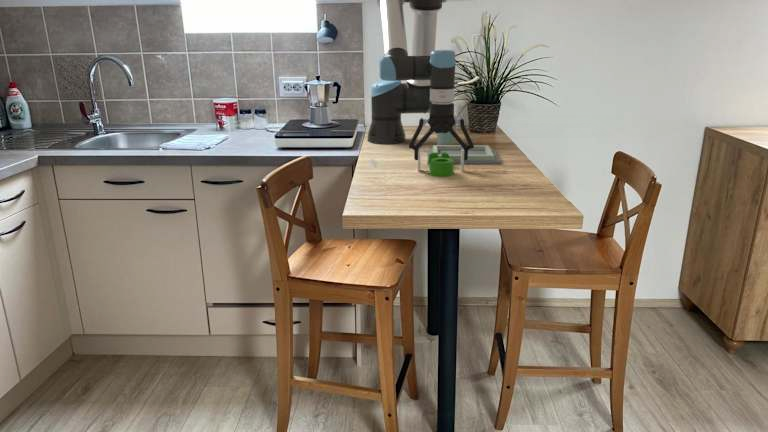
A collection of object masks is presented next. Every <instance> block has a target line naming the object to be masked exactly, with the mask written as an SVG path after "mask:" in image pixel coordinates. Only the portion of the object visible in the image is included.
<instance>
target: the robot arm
mask: <svg viewBox="0 0 768 432" xmlns="http://www.w3.org/2000/svg"><path fill="white" fill-rule="evenodd" d="M447 1H448V0H376V4H377V6H378V7H379V9H380V19H381V30H382V41H383V42H382V43H383V53H384V56H380V57H379V61H378V63H379V64H378V65H379V66H378V70H379V77H380V79H381V80H382V81H377V82H375V83H373V84H372V85H371V87H370V88H371V89H370V91H371V92H370V97H371V98H370V99H371V100H370V101H371V122H370V125H369V129H368V132H367V142H369V143H372V144H381V145H382V144H383V145H387V144H388V145H389V144H399V143H403V142H405V141H406V133H405V129H404V127H403V126H404V125H403V123H402V114H429V118H427V119H426V118H423V117H420V118H419V122H418V125H417V128H416V130H415V132H414V133H413V136H412V138H411V139H410V142H409V144H408V148H409V149H412V150H413V152H414V161H417V172H421V153H422V152H421V147H422V146H423V144H424V143H426V141H427V140H428V138H430V136H431V135H433V134H434V133H436V134H437V133H448V132H450V133H451V134H452V135H453V137H454V138H455V139H454V140H456V141H457V142H458V144H459V145H461V146H462V147H463V149H461V164H460V172H464V171H465V170H464V169H465V164H464V160H467V159H468V150H469V149H471V148H474V142H473V141H472V139H471V136H470V135H469V134H470V133H468V131H467V128H466V125H465V119H464V118H463V117H460V118H457V119H454V114H455V104H454V102H455V92H456V90H455V87H456V86H455V83H456V82H455V81H456V64H457V60H456V53H455V51H454V50H452V49H451V50H450V49H449V50H448V49H436V41H437V39H436V37H437V23H438V22H437V21H438V12H439V11H441V10H442V8H443V6H442V5H443V3H446V2H447ZM405 3H409V8H410V9H411V11H412V12H413V17H412V39H411V40H412V46H411V47H412V48H411V55H409V53H408V52H409V50H408V43H407V41H408V40H407V35H406V24H405V17H404V16H405V15H404V14H405V13H404V5H405ZM402 81H406V83H405V82H404V83H403V82H402ZM455 123H457V125H458V127H460V129H461V131H462V133H463V135H464V138H465V139H466V141H467V143H468V144H466V142H464V140H463V139H462V137H460V136H459V134H458V133H457V132H455V131H454V129H453V128H452V127H453V126H454V124H455ZM426 124H428V125H429V127H430V128H428V130H427V131H426V132H425V134H424V135H423V136H422V137H420V139H419V140H418V142H417V143H416V141H417V139H418V138H419V135H420V134H421V131H422V130H423V127H424V126H426Z"/></svg>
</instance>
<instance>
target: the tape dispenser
mask: <svg viewBox="0 0 768 432" xmlns="http://www.w3.org/2000/svg"><path fill="white" fill-rule="evenodd" d="M453 162H454V160H453V159H450V158H449V155H448V153H447V152H442V157H441V158H438V152H431V153H430V154H429V164H428V169H429V174H430V176H433V177H435V178H436V177H437V178H439V177H440V178H446V177H452V176H453V175H454V164H453Z"/></svg>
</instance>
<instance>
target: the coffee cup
mask: <svg viewBox="0 0 768 432" xmlns="http://www.w3.org/2000/svg"><path fill="white" fill-rule="evenodd" d="M454 119H458V117H457V114H455V113H454ZM457 125H458V124H457V123H455V124H454V126H453V127H452V128H453V129H454V131H455V132H456V131H457ZM456 133H457V132H456ZM455 140H456V139H455V138H454V137H453V135H452V134H451V133H450V132H448V133H436V142H437V145H455Z"/></svg>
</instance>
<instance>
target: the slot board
mask: <svg viewBox="0 0 768 432" xmlns="http://www.w3.org/2000/svg"><path fill="white" fill-rule="evenodd" d="M473 145H474V144H473ZM461 149H463V147H462V146H461V145H460V144H459V145H458V144H457V145H456V144H454V145H438V144H436V145H435V144H433V145H432V148H427V149H426V155H427V165H429V154H430V153H431V152H438V158H441V157H442V152H447V153H448V155H449V158H450V159H453V160H454V162H453V165H461ZM499 157H500V156H499V155H498V154H497V152H496V150H495V148H491V147H490V145H488V144H487V145H485V144H484V145H483V144H482V145H480V144H477V145H476V144H475V145H474V148H471V149H469V150H468V159H467V160H464V165H502V164H501V163H502V161H501V159H500V158H499Z"/></svg>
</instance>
